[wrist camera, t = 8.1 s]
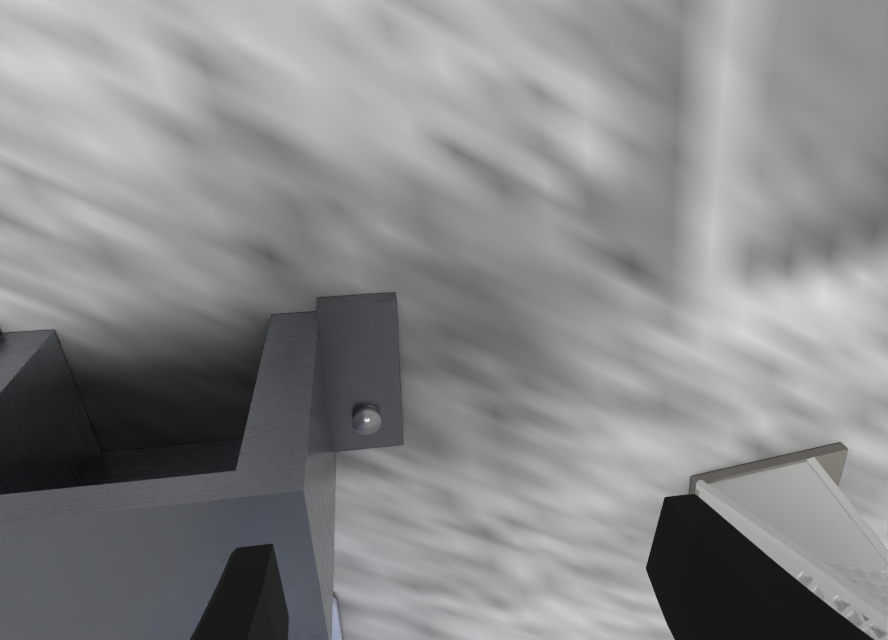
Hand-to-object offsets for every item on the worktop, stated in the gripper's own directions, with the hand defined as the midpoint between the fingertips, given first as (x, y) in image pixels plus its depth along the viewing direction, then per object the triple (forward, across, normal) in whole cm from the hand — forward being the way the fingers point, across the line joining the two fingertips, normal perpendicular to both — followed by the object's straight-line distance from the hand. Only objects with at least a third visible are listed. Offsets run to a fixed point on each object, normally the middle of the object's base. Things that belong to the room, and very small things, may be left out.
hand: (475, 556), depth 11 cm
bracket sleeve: (+10, +8, +2) cm, 13 cm away
